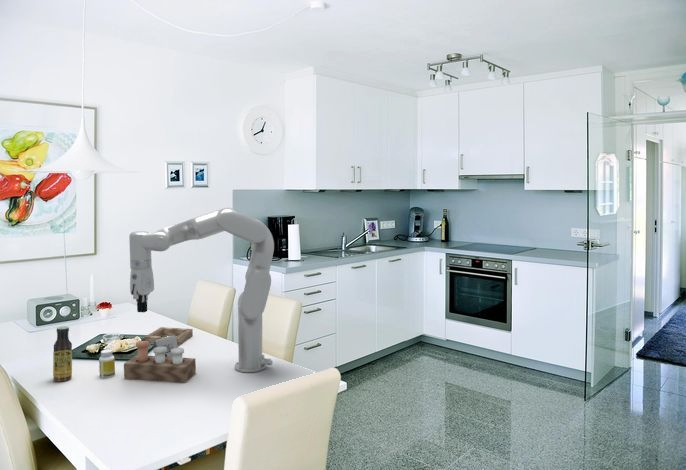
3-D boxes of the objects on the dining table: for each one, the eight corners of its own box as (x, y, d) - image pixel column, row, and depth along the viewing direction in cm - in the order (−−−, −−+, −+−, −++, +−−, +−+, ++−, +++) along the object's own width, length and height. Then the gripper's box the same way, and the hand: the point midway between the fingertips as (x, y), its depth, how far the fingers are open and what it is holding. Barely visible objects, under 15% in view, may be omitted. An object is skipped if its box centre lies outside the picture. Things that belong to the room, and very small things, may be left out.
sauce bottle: (53, 383, 192) (50, 330, 190) (53, 377, 198) (51, 326, 196) (73, 380, 195) (71, 328, 193) (73, 375, 201) (71, 324, 199)
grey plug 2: (186, 373, 202) (186, 348, 201) (181, 378, 197) (180, 352, 196) (174, 372, 203) (174, 347, 202) (169, 377, 198) (168, 351, 197)
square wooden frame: (192, 336, 252) (192, 328, 252) (178, 346, 237) (178, 338, 236) (161, 334, 254) (161, 327, 254) (144, 344, 239) (144, 336, 238)
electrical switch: (160, 362, 215) (158, 340, 215) (153, 361, 219) (151, 339, 218) (179, 357, 223) (178, 335, 222) (172, 355, 226) (171, 334, 226)
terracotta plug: (152, 366, 204) (151, 341, 203) (145, 371, 199) (145, 345, 198) (140, 365, 204) (139, 340, 203) (134, 370, 200) (133, 344, 198)
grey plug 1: (169, 372, 203) (168, 346, 202) (163, 377, 198) (162, 350, 197) (157, 371, 204) (156, 346, 203) (151, 376, 199) (150, 350, 198)
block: (195, 373, 204) (195, 358, 204) (184, 383, 195) (184, 367, 194) (137, 369, 207) (137, 354, 207) (124, 379, 198) (123, 363, 197)
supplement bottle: (118, 374, 202) (117, 349, 201) (107, 379, 197) (106, 354, 196) (107, 372, 204) (106, 348, 203) (96, 377, 199) (95, 352, 198)
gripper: (140, 267, 190) (141, 317, 192) (159, 261, 204) (160, 307, 206) (120, 267, 191) (122, 316, 192) (141, 260, 205) (142, 306, 207)
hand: (142, 311), depth 199 cm, fingers closed
